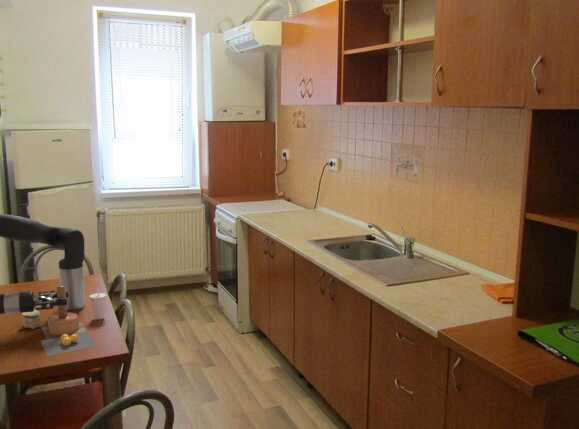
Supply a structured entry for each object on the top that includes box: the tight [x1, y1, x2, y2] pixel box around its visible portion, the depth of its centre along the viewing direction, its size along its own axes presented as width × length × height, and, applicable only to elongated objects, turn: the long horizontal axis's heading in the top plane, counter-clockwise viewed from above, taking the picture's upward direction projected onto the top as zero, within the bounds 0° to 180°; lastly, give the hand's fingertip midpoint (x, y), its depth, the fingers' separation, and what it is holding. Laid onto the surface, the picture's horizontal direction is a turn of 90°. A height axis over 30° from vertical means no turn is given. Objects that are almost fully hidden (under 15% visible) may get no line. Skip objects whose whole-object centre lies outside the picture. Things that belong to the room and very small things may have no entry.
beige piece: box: [21, 308, 42, 329], centre depth 212 cm, size 10×9×6 cm
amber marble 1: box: [60, 334, 70, 342], centre depth 195 cm, size 3×3×3 cm
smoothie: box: [89, 283, 108, 320], centre depth 219 cm, size 6×6×14 cm
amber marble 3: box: [69, 334, 78, 343], centre depth 195 cm, size 3×3×3 cm
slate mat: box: [40, 332, 98, 357], centre depth 195 cm, size 15×16×1 cm
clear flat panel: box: [40, 319, 89, 340], centre depth 208 cm, size 14×14×1 cm
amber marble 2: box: [62, 337, 71, 346], centre depth 193 cm, size 3×3×3 cm
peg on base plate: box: [47, 284, 80, 335], centre depth 206 cm, size 10×10×17 cm
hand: (67, 298), depth 206 cm, fingers open, 8 cm apart
